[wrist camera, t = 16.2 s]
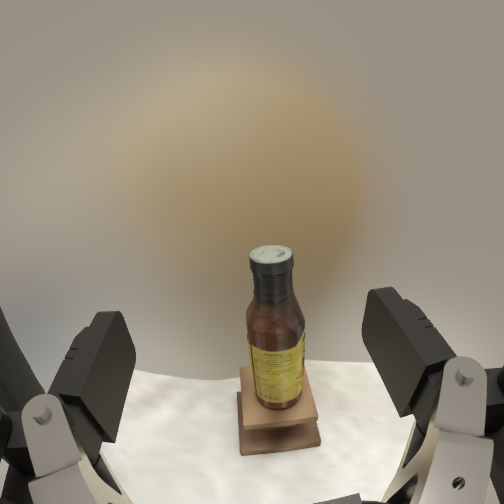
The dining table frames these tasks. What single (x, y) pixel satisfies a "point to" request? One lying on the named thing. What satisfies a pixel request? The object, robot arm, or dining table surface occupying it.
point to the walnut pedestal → (275, 421)
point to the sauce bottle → (275, 329)
